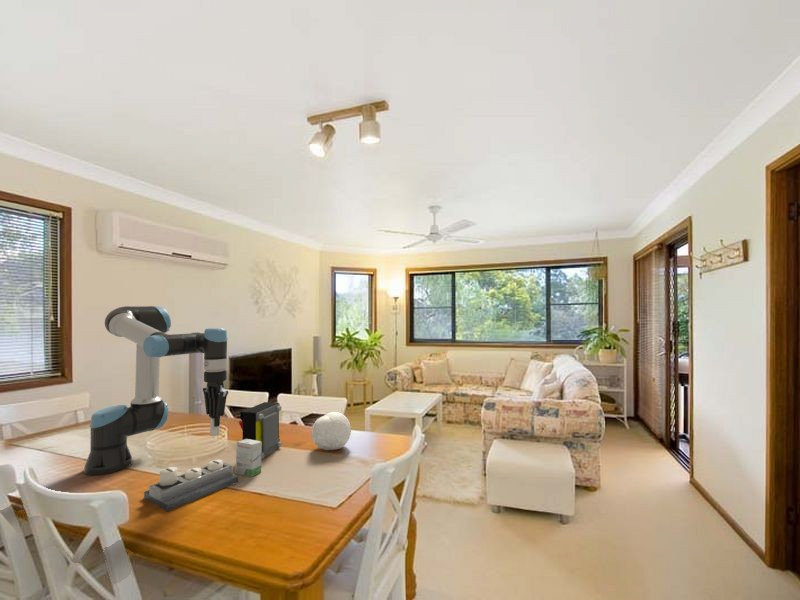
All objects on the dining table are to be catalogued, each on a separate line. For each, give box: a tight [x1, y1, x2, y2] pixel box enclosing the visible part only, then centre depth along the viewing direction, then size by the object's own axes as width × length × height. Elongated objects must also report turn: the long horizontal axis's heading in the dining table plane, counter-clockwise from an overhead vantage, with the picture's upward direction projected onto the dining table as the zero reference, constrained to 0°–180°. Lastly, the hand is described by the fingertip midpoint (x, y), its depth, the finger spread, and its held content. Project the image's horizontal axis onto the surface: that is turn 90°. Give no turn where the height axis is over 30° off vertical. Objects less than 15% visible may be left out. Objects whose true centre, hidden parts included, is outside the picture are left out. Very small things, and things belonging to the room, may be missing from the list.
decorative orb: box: [311, 411, 352, 451], centre depth 168 cm, size 20×18×16 cm
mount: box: [143, 461, 239, 512], centre depth 131 cm, size 16×24×5 cm, turn 146°
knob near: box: [159, 466, 179, 486], centre depth 125 cm, size 5×5×4 cm
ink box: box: [235, 439, 262, 477], centre depth 145 cm, size 9×5×12 cm, turn 65°
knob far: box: [207, 459, 224, 472], centre depth 138 cm, size 5×5×4 cm
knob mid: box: [184, 467, 201, 480], centre depth 131 cm, size 5×5×4 cm
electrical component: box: [238, 401, 283, 460], centre depth 164 cm, size 18×10×20 cm, turn 166°
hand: (214, 434), depth 138 cm, fingers closed
